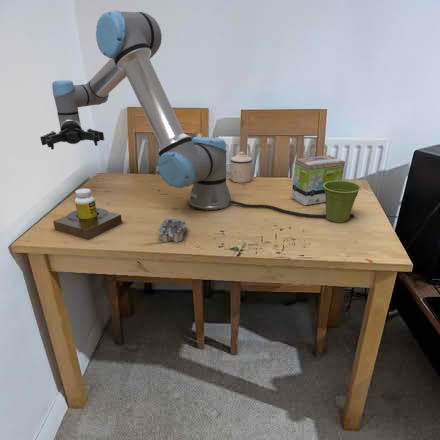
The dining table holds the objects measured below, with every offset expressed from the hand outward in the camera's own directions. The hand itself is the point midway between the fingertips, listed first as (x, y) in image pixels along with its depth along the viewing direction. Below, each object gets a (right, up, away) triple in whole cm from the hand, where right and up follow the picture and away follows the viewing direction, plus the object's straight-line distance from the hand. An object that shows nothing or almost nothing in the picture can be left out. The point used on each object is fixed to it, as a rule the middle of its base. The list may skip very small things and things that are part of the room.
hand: (74, 143), depth 132 cm
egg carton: (+32, -30, -4) cm, 44 cm away
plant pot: (+86, -23, +6) cm, 89 cm away
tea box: (+83, -13, +23) cm, 87 cm away
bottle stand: (+4, -26, +2) cm, 27 cm away
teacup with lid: (+54, 0, +44) cm, 70 cm away
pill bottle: (+3, -25, +5) cm, 26 cm away
